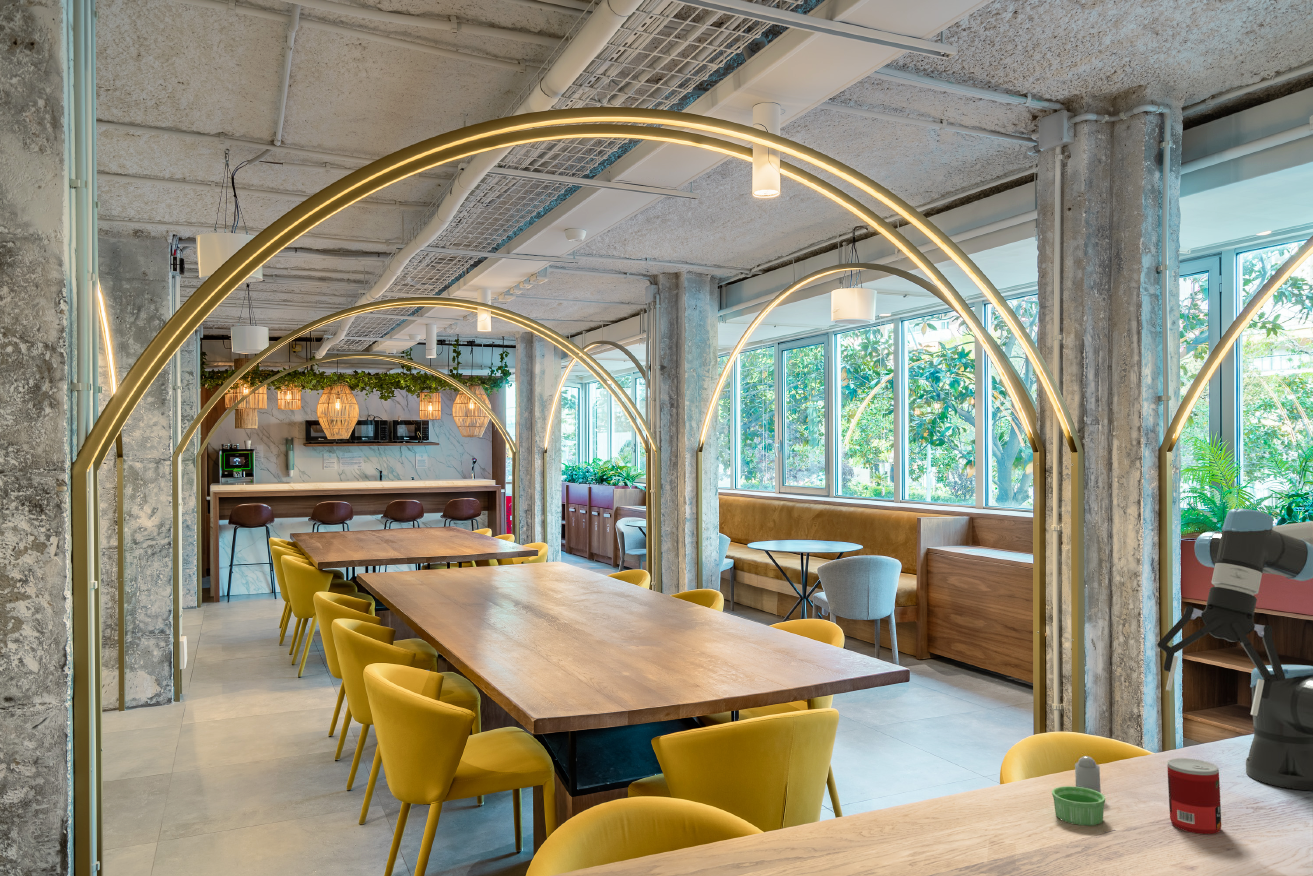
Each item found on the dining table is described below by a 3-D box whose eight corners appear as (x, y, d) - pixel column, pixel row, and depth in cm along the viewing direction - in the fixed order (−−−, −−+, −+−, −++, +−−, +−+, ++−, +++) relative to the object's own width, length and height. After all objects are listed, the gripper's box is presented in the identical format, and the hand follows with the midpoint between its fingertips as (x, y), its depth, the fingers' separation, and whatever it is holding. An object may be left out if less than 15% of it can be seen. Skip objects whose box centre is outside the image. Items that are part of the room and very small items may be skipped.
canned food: (1229, 836, 155) (1226, 772, 156) (1179, 833, 157) (1176, 770, 158) (1211, 819, 163) (1208, 758, 163) (1163, 817, 164) (1160, 757, 165)
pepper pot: (1090, 791, 178) (1088, 752, 179) (1105, 799, 174) (1104, 758, 175) (1071, 793, 178) (1069, 754, 178) (1086, 801, 173) (1084, 760, 174)
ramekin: (1051, 822, 163) (1050, 798, 163) (1054, 806, 171) (1053, 783, 171) (1105, 830, 159) (1104, 805, 159) (1106, 813, 167) (1105, 790, 167)
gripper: (1159, 570, 169) (1134, 680, 167) (1318, 608, 157) (1294, 726, 154) (1158, 575, 176) (1134, 680, 173) (1311, 611, 163) (1288, 725, 161)
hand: (1210, 702), depth 164 cm, fingers open, 13 cm apart
